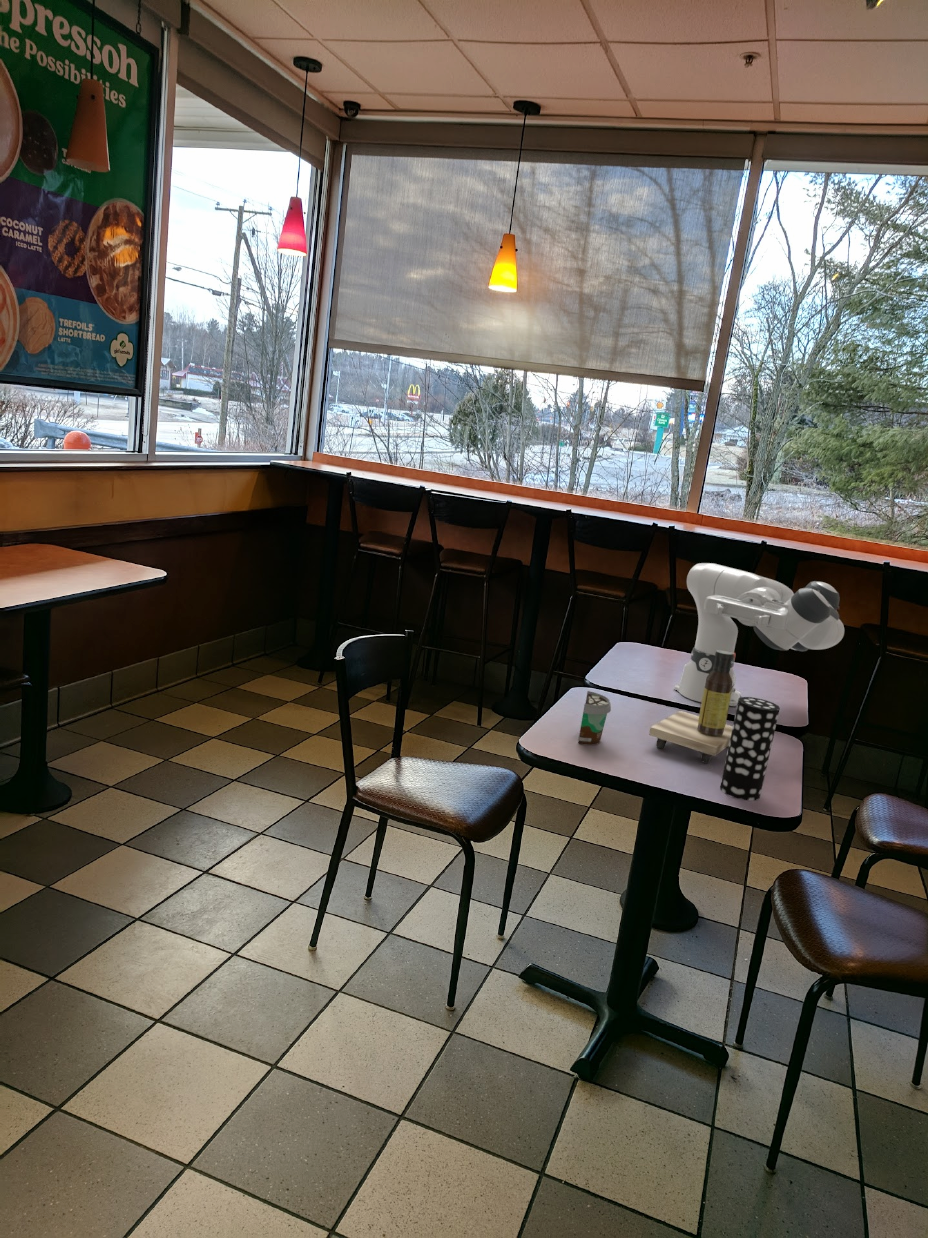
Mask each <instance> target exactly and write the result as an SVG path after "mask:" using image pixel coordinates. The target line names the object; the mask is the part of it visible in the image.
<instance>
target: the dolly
mask: <svg viewBox="0 0 928 1238" xmlns="http://www.w3.org/2000/svg"><path fill="white" fill-rule="evenodd" d="M698 720H699V715H695V714H692V713H689V712H685V711H682V710H679V711H677V712H674V713H673V714H671V715H669V716H667V717H666V718H664V719H662V720H661V721H659V722H657V723H655V724H653V725H652V726H650V727H649V733H648V735H649V736H651V737H653V738H656V743H655V744H656V745H655V747H656V748H660V749H661V750H662V749H664V748H665V747H666V745H667V742H670V743H671V744H676V745H680V746H682V747H684V748H685V747H686V748H688V749H692V750H694V751H697V752H701V757H700V761H701V762H702V763H704V764H709V763H710V761H711V758H712V756H714V757H715V756H717V755H718V754H720V753H721V752H722V751H724V750H725V749H728V747H729V742H730V738H731V733H732V728H733V725H730V724H727V723H726V725H725V728H724V732H723V734H722V735H719V736H711V735H706V734H703V733H701V732H699V731H698Z"/></svg>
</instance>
